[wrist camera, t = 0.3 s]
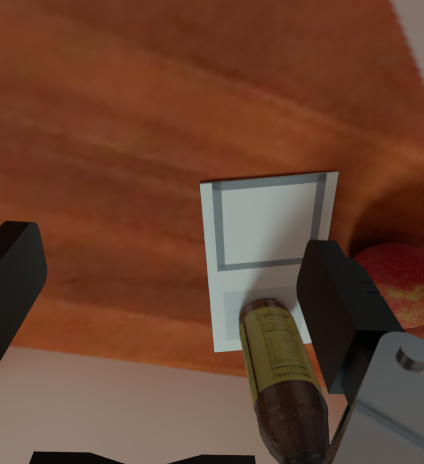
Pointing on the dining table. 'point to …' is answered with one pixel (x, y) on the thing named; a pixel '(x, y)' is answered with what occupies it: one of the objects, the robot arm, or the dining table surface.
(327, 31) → the dining table surface
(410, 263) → the apple
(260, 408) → the sauce bottle
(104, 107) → the dining table surface
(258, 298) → the mat
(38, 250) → the robot arm
